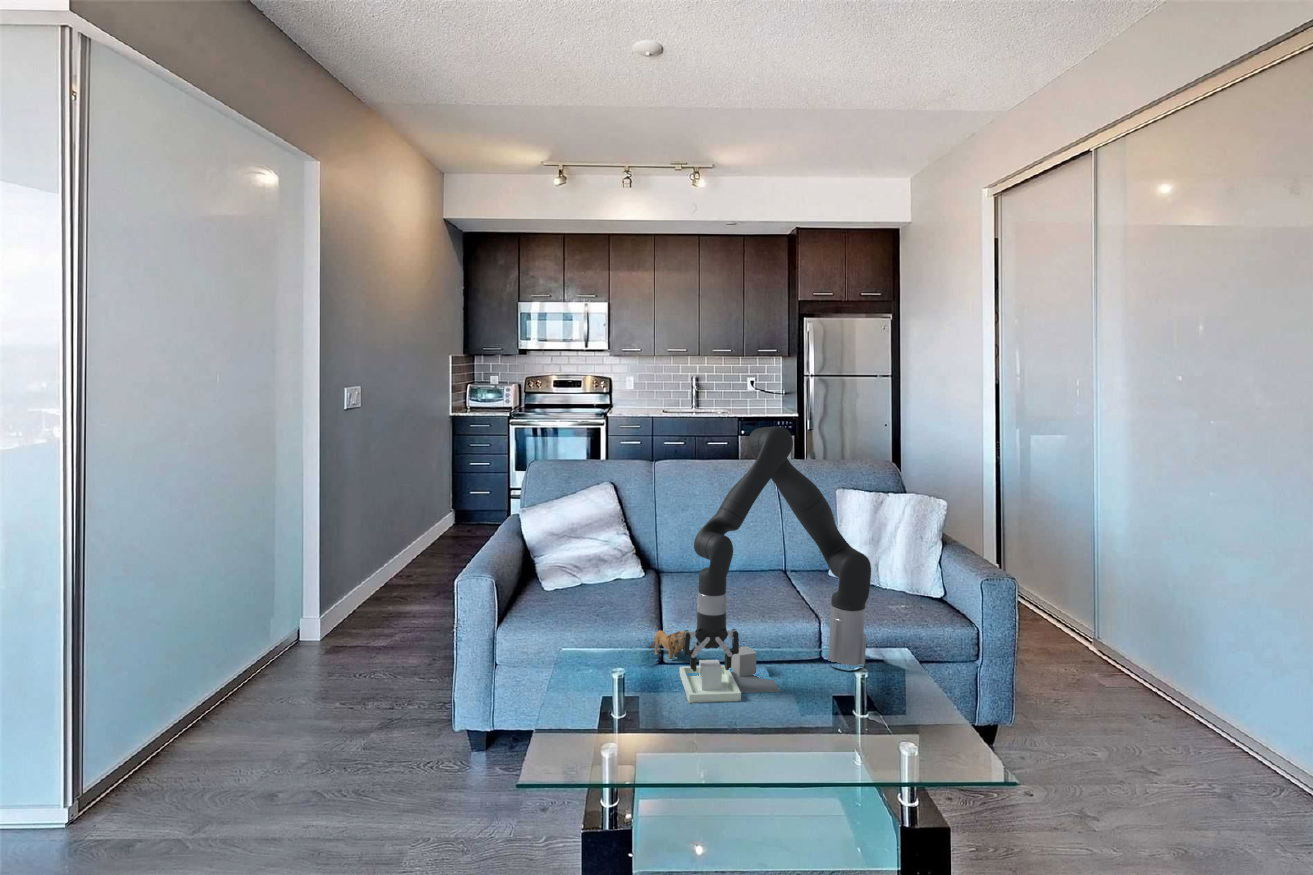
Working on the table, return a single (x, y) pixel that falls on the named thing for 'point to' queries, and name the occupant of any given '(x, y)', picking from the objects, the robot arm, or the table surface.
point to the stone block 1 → (710, 674)
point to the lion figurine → (669, 642)
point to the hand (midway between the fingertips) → (710, 669)
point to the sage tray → (697, 695)
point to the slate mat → (754, 684)
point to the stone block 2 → (744, 662)
